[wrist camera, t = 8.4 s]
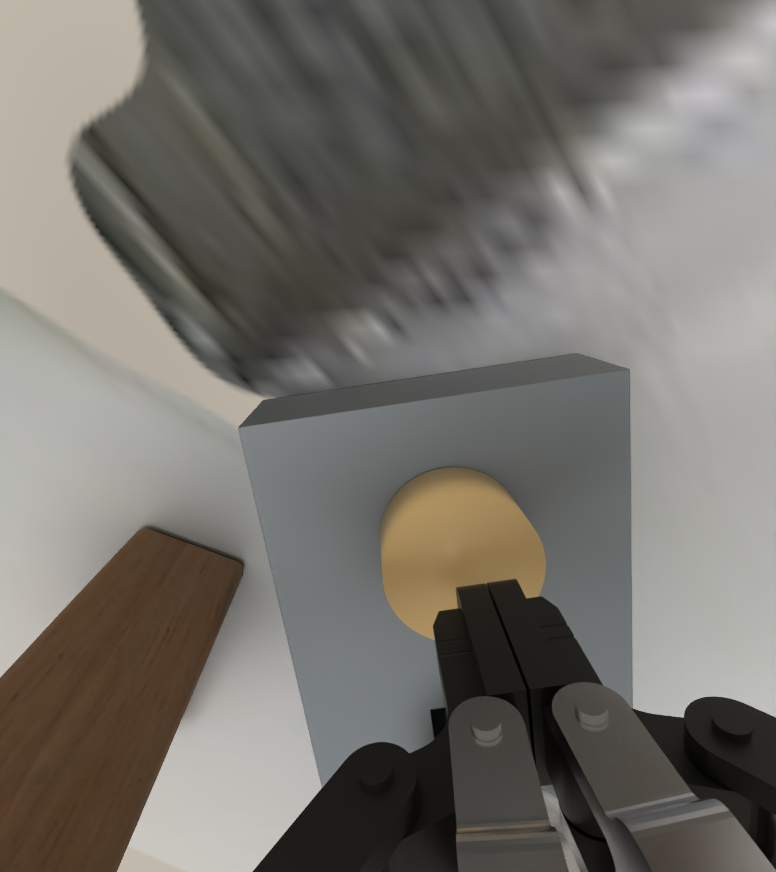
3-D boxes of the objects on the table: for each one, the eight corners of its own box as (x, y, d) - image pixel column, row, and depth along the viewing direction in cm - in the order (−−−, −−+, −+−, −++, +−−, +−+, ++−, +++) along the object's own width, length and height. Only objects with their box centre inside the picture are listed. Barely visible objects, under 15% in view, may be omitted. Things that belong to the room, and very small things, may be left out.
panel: (576, 353, 19) (629, 369, 16) (595, 850, 27) (634, 945, 23) (263, 400, 19) (238, 427, 15) (367, 884, 27) (368, 985, 23)
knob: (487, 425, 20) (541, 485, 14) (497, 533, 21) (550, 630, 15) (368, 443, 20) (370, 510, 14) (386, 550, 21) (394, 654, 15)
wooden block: (179, 723, 23) (-356, 1981, 6) (80, 692, 23) (-850, 2014, 5) (248, 560, 21) (-266, 1771, 4) (141, 521, 20) (-1067, 1784, 3)
